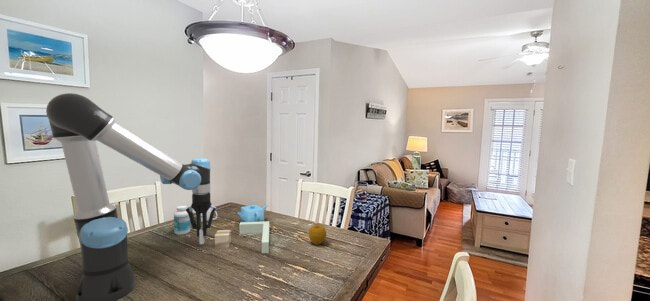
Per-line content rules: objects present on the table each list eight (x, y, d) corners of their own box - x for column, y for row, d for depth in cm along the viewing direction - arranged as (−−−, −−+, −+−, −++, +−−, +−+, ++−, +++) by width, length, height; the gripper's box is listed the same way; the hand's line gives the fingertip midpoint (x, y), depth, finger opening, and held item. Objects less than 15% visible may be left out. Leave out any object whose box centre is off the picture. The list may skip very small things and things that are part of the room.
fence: (268, 253, 118) (268, 242, 118) (233, 255, 115) (233, 244, 115) (269, 230, 144) (269, 221, 143) (240, 231, 141) (240, 222, 140)
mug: (193, 222, 151) (193, 209, 151) (201, 217, 160) (201, 204, 159) (214, 223, 151) (213, 210, 150) (220, 218, 159) (220, 205, 158)
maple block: (228, 247, 123) (228, 235, 122) (214, 248, 121) (214, 235, 121) (230, 242, 128) (230, 229, 128) (217, 242, 127) (217, 230, 127)
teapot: (232, 223, 152) (232, 204, 151) (262, 217, 163) (262, 199, 161) (242, 233, 139) (242, 211, 138) (274, 226, 150) (274, 206, 149)
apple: (329, 244, 129) (330, 226, 128) (315, 249, 123) (316, 230, 123) (319, 238, 135) (319, 221, 135) (305, 242, 130) (305, 224, 129)
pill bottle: (173, 231, 139) (173, 205, 138) (189, 228, 143) (189, 203, 142) (174, 236, 133) (174, 209, 131) (191, 233, 137) (191, 207, 135)
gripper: (218, 190, 126) (218, 238, 128) (188, 190, 123) (189, 240, 125) (214, 194, 118) (215, 245, 121) (183, 195, 116) (184, 247, 118)
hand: (202, 242), depth 123 cm, fingers closed
